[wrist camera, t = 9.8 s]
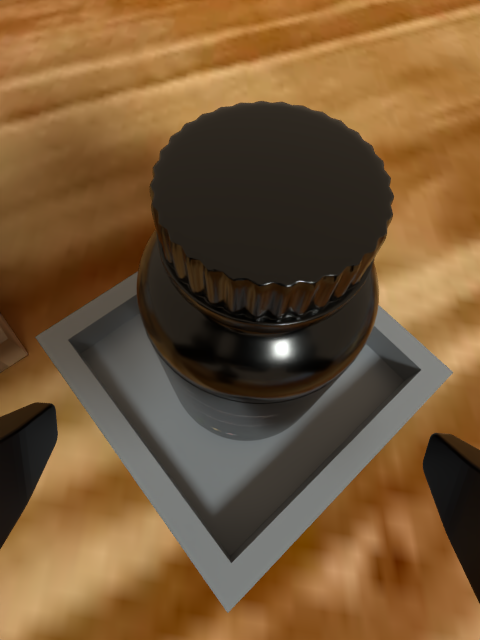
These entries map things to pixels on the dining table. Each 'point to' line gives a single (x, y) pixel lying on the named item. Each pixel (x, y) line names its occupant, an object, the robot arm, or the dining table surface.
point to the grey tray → (232, 455)
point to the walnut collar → (9, 346)
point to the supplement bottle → (262, 262)
